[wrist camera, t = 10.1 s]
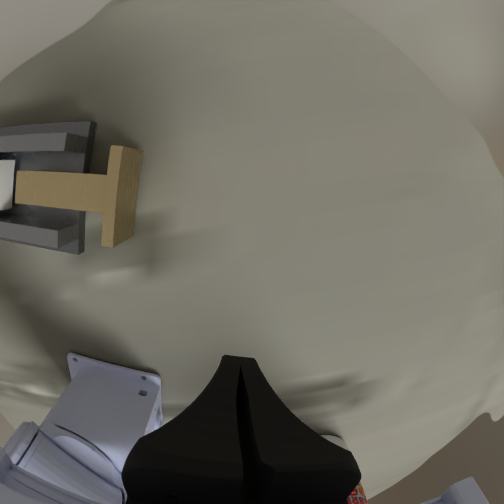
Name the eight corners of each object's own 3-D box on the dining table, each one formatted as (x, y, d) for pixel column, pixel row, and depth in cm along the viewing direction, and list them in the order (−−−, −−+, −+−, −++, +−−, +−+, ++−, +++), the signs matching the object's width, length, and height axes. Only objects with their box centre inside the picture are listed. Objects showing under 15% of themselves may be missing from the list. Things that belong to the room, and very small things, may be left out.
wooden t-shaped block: (143, 151, 19) (122, 145, 15) (133, 235, 20) (112, 247, 16) (40, 148, 18) (11, 145, 14) (35, 221, 19) (6, 229, 16)
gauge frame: (96, 123, 18) (62, 112, 14) (84, 251, 21) (50, 269, 16) (1, 129, 18) (-35, 125, 13) (-6, 234, 20) (-41, 246, 15)
